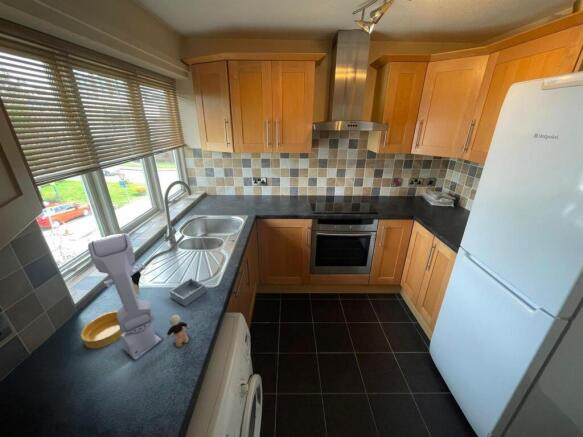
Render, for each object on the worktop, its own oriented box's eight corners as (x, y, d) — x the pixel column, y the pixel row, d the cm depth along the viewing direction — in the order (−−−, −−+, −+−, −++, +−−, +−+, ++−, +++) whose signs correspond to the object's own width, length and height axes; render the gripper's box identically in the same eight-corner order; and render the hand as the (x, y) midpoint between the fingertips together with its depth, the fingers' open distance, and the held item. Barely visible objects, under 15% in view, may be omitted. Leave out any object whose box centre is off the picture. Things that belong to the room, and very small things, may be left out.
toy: (130, 299, 97) (124, 283, 94) (124, 295, 100) (118, 279, 96) (140, 293, 100) (135, 278, 97) (134, 289, 103) (129, 274, 100)
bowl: (94, 356, 82) (90, 348, 81) (78, 337, 89) (74, 330, 88) (137, 327, 93) (134, 320, 92) (119, 313, 100) (116, 306, 99)
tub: (185, 306, 104) (183, 299, 102) (171, 297, 109) (169, 290, 107) (205, 291, 113) (204, 284, 111) (192, 284, 118) (190, 277, 116)
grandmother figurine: (188, 333, 91) (181, 307, 86) (193, 338, 88) (187, 312, 84) (168, 347, 85) (160, 320, 80) (173, 353, 83) (165, 326, 78)
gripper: (135, 252, 102) (143, 278, 107) (96, 269, 90) (107, 297, 96) (144, 257, 98) (152, 283, 103) (104, 275, 87) (115, 304, 92)
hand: (131, 291), depth 99 cm, fingers closed on toy, 4 cm apart
